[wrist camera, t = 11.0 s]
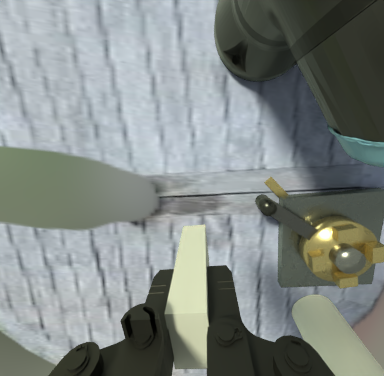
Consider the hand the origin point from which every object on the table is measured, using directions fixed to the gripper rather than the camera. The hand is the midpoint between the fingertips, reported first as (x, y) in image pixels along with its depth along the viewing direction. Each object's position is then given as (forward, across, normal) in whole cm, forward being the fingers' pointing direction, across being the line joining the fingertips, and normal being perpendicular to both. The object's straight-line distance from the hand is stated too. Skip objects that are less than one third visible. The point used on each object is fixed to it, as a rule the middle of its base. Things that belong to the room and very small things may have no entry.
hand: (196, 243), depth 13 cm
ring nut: (+22, +19, -12) cm, 32 cm away
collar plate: (+24, +22, -14) cm, 36 cm away
